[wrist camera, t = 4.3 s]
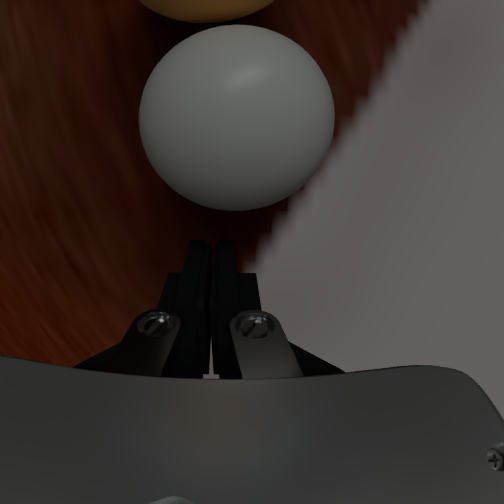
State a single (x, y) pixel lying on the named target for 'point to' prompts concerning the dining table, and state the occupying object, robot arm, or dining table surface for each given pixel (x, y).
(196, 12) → the orange ball
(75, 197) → the dining table surface
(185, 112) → the cue ball
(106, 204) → the dining table surface
